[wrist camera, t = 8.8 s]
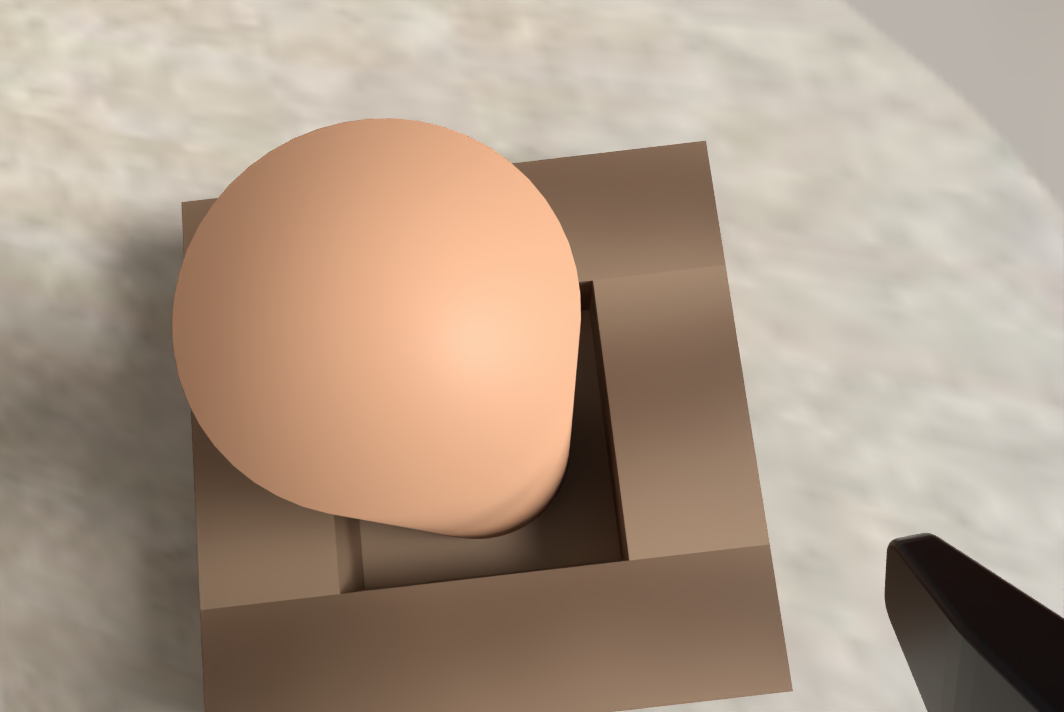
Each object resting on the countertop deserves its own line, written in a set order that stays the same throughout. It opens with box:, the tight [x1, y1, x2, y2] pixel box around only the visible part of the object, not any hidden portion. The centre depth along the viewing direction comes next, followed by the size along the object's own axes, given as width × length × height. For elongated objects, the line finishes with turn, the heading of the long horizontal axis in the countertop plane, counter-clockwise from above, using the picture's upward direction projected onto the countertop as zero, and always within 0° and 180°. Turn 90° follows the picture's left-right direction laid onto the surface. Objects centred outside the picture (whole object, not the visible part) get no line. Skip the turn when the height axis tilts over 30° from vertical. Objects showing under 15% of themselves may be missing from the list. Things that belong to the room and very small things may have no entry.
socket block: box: [182, 141, 793, 712], centre depth 21 cm, size 11×11×3 cm
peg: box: [172, 119, 581, 539], centre depth 16 cm, size 4×4×12 cm
